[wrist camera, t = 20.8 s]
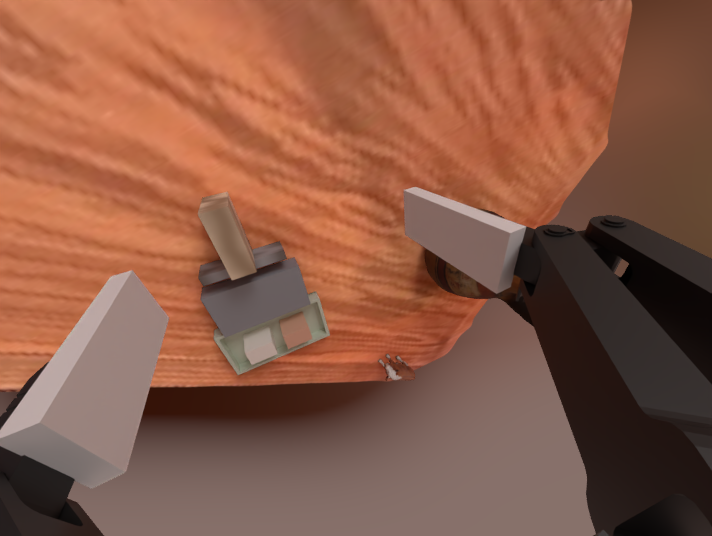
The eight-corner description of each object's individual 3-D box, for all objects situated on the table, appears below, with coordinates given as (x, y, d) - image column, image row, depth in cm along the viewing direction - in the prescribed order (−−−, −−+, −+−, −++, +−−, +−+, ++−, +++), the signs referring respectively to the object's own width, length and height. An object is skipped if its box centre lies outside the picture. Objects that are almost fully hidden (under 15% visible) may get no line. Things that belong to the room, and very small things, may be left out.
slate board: (224, 325, 48) (224, 337, 45) (202, 287, 43) (200, 299, 40) (306, 294, 52) (310, 304, 49) (294, 257, 47) (298, 265, 44)
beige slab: (205, 273, 42) (201, 301, 35) (166, 206, 35) (153, 225, 29) (282, 248, 45) (291, 270, 39) (259, 183, 39) (266, 196, 32)
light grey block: (243, 334, 50) (249, 346, 52) (244, 353, 46) (251, 365, 48) (268, 324, 51) (274, 336, 53) (272, 341, 47) (277, 353, 49)
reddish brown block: (278, 320, 52) (283, 332, 54) (283, 337, 48) (288, 349, 50) (302, 311, 53) (306, 322, 55) (308, 326, 49) (312, 338, 51)
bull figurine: (378, 347, 70) (394, 370, 64) (406, 357, 79) (422, 378, 72) (369, 359, 71) (383, 383, 65) (397, 367, 79) (412, 389, 73)
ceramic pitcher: (471, 184, 56) (647, 231, 33) (487, 244, 69) (624, 309, 45) (404, 241, 56) (534, 330, 33) (433, 291, 69) (542, 381, 45)
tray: (237, 365, 53) (238, 375, 51) (214, 330, 47) (213, 339, 45) (326, 327, 59) (329, 335, 57) (315, 291, 52) (319, 298, 51)
